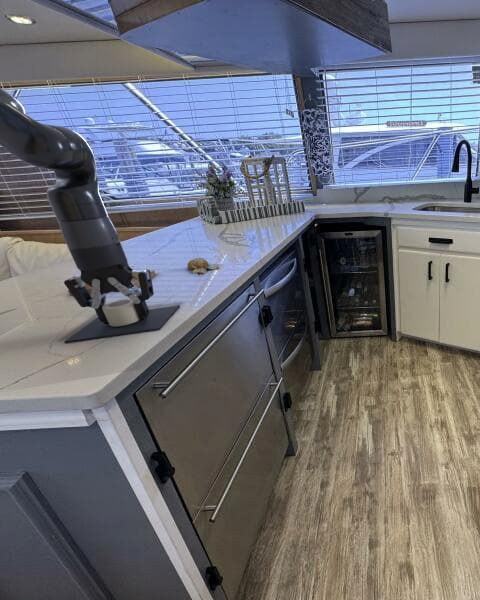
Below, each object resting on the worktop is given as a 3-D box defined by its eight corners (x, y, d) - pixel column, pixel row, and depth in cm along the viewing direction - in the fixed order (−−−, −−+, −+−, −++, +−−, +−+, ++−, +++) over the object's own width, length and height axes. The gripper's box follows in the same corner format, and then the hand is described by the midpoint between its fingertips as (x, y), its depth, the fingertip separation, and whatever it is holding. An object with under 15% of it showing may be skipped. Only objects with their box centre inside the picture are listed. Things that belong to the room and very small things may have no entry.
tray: (71, 298, 84) (67, 290, 83) (97, 283, 94) (94, 276, 94) (138, 290, 87) (135, 283, 86) (156, 276, 98) (154, 270, 97)
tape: (103, 328, 65) (95, 310, 63) (118, 316, 70) (111, 299, 68) (136, 324, 66) (129, 306, 65) (148, 312, 71) (142, 296, 70)
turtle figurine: (198, 275, 97) (195, 264, 96) (180, 273, 100) (177, 261, 99) (222, 267, 104) (219, 256, 103) (204, 265, 107) (201, 254, 106)
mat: (64, 343, 61) (63, 341, 61) (100, 316, 72) (99, 315, 72) (159, 329, 65) (158, 328, 65) (180, 306, 76) (179, 305, 75)
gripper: (33, 250, 56) (75, 334, 63) (127, 242, 60) (158, 322, 66) (62, 241, 63) (97, 318, 70) (145, 234, 66) (171, 308, 73)
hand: (127, 320), depth 68 cm, fingers closed on tape, 5 cm apart
